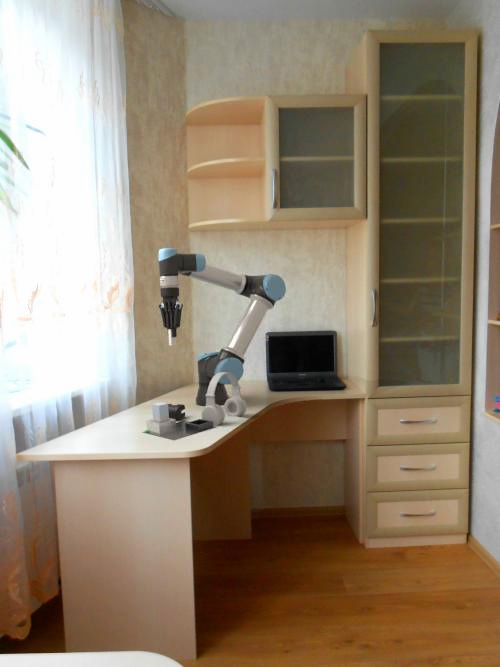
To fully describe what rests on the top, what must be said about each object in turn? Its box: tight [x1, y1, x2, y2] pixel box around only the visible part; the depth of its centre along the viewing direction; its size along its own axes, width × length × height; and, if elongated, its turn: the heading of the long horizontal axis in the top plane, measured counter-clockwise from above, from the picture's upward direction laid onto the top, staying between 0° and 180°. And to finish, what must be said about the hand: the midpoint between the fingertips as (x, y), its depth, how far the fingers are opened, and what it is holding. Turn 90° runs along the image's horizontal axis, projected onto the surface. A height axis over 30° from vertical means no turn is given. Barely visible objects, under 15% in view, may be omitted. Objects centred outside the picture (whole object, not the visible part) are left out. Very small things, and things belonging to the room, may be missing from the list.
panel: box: [141, 418, 217, 441], centre depth 187 cm, size 20×18×5 cm
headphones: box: [201, 372, 247, 427], centre depth 199 cm, size 20×8×19 cm, turn 149°
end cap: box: [168, 403, 186, 422], centre depth 204 cm, size 10×7×7 cm
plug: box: [151, 402, 169, 423], centre depth 185 cm, size 4×4×10 cm
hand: (172, 345), depth 210 cm, fingers closed
